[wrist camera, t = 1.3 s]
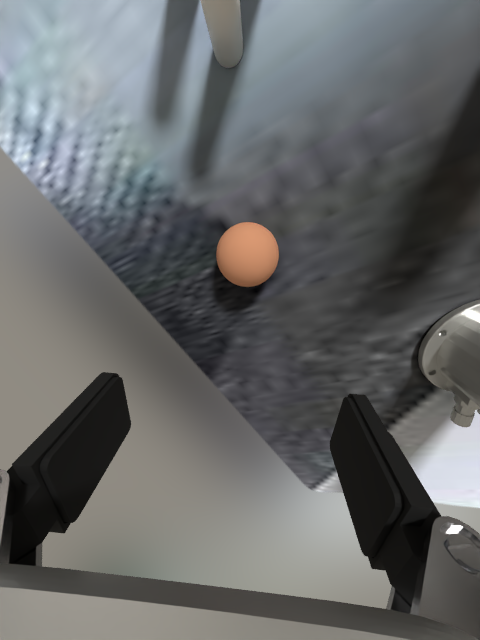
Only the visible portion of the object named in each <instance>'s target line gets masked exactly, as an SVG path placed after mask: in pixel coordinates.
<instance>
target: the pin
mask: <svg viewBox="0 0 480 640" xmlns="http://www.w3.org/2000/svg"><path fill="white" fill-rule="evenodd" d="M200 1H201V4H202V8H203V12H204V16H205V20H206V23H207V27H208V31H209V35H210V39H211V43H212V46H213V50H214V54H215V57H216V60H217V61H218V63H219V64H220V65H221V66H223V67H225V68H232V67H234V66H236V65H237V64H238V63H239V61H240V59H241V57H242V54H243V35H242V22H241V9H240V0H200Z"/></svg>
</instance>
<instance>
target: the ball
mask: <svg viewBox="0 0 480 640" xmlns="http://www.w3.org/2000/svg"><path fill="white" fill-rule="evenodd" d="M216 256H217V263H218V266H219V269H220V271H221V272H222V274H223V275H224V276H225V278H227V279H228V280H229V281H230V282H232V283H234V284H236V285H238V286H243V287H252V286H256V285H259V284H261V283H263V282H265V281H266V280H267V279H268V278H269V277H270V276H271V275H272V274H273V272H274V270H275V269H276V266H277V263H278V258H279V251H278V245H277V242H276V240H275V238H274V236H273V235H272V234H271V232H270V231H269V230H268V229H266V228H265V227H263V226H261V225H259V224H257V223H252V222H244V223H239V224H236V225H234V226H232V227H231V228H229V229H228V230H227V231H226V232H225V233H224V234H223V236H222V237H221V239H220V241H219V243H218V247H217V254H216Z"/></svg>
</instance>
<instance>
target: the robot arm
mask: <svg viewBox="0 0 480 640" xmlns="http://www.w3.org/2000/svg"><path fill="white" fill-rule="evenodd" d="M418 362H419V367H420V369H421V371H422V373H423V374H424V376H425V377H426V378H427V379H428V380H429V381H430V382H431V383H433V384H434V385H435V386H437V387H439V388H441V389H444V390H447V391H451V392H453V393H454V394H455V395H454V400H455V401H456V406H454V408H453V411H452V414H451V417H450V418H451V420H452V421H453V423H455V424H457V425H459V426H462V427H469V426H470V425H471V423H472V420H473V417H474V414H475V413H474V412H475V410H477V409H478V410H477V412H478V413H479V414H480V300H476V301H473V302H470V303H468V304H465V305H463V306H461V307H459V308H457V309H455V310H453V311H451V312H450V313H448V314H447V315H445V316H444V317H442V318H441V319H440V320H439V321H438V322H437V323H436V324H434V325H433V327H432V328H431V329H430V330H429V331H428V333H427V334H426V336H425V338H424V339H423V341H422V343H421V346H420V349H419V354H418ZM130 427H131V420H130V415H129V411H128V405H127V400H126V395H125V390H124V385H123V380H122V378H121V377H119V375H118V374H116V373H105V372H103V373H101V374H100V375H99V376H98V377H97V378H96V379H95V380H94V381H93V382H92V383H91V384H90V385H89V386H88V387H87V388H86V389H85V390H84V391H83V392H82V393H81V394H80V395H79V396H78V397H77V398H76V399H75V400H74V401H73V402H72V403H71V404H70V405H69V406H68V407H67V408H66V409H65V410H64V412H63V413H62V414H61V415H60V416H59V417H58V418H57V419H56V420H55V421H54V422H53V423H52V424H51V425H50V426H49V427H48V428H47V429H46V430H45V431H44V432H43V433H42V434H41V435H40V436H39V437H38V438H37V439H36V440H35V441H34V442H33V443H32V444H31V445H30V446H29V447H28V448H27V450H25V452H23V454H22V455H21V456H20V457H19V458H18V459H17V460H16V461H15V462H14V463H13V464H12V467H11V468H10V469H9V470H8V471H7V472H6V471H5V470H1V469H0V640H480V534H479V533H478V532H476V531H475V530H474V529H472V528H471V527H470V526H469V525H467V524H465V523H463V522H461V521H460V520H458V519H455V518H452V517H448V516H447V517H444V516H443V517H442V516H441V515H440V513H439V512H438V510H437V508H436V507H435V505H434V503H433V502H432V500H431V499H430V497H429V495H428V494H427V492H426V490H425V489H424V487H423V485H422V484H421V482H420V480H419V479H418V477H417V476H416V474H415V472H414V471H413V469H412V467H411V466H410V464H409V462H408V461H407V459H406V457H405V456H404V454H403V453H402V451H401V449H400V448H399V446H398V444H397V443H396V441H395V439H394V438H393V436H392V435H391V434H390V433H389V432H387V430H386V428H385V427H384V425H383V423H382V422H381V420H380V418H379V417H378V415H377V413H376V412H375V410H374V408H373V407H372V405H371V403H370V401H369V400H368V398H367V397H366V396H365V395H357V394H349V395H348V397H345V398H344V399H343V402H342V405H341V409H340V412H339V415H338V418H337V421H336V424H335V428H334V431H333V434H332V437H331V440H330V450H331V454H332V457H333V460H334V464H335V467H336V470H337V473H338V477H339V480H340V483H341V486H342V489H343V493H344V496H345V499H346V502H347V506H348V509H349V512H350V515H351V518H352V522H353V525H354V528H355V531H356V535H357V538H358V541H359V544H360V547H361V550H362V552H363V554H364V555H365V556H368V558H369V561H370V564H371V567H372V569H378V570H386V572H387V575H388V578H389V581H390V584H391V585H392V588H391V592H390V596H389V600H388V604H387V608H386V609H382V608H374V607H368V606H362V605H354V604H348V603H341V602H335V601H327V600H318V599H311V598H303V597H295V596H288V595H279V594H272V593H264V592H256V591H248V590H239V589H232V588H223V587H215V586H207V585H199V584H191V583H182V582H173V581H165V580H157V579H149V578H141V577H131V576H122V575H114V574H105V573H97V572H88V571H79V570H71V569H61V568H51V567H42V542H43V540H44V539H45V537H46V536H47V534H48V532H57V533H65V532H66V530H67V528H68V527H69V525H70V523H73V522H75V521H76V520H77V518H78V517H79V515H80V514H81V512H82V510H83V509H84V507H85V505H86V503H87V502H88V500H89V498H90V496H91V495H92V493H93V491H94V490H95V488H96V486H97V485H98V483H99V481H100V480H101V478H102V476H103V475H104V473H105V471H106V469H107V468H108V466H109V464H110V462H111V461H112V459H113V457H114V456H115V454H116V452H117V451H118V449H119V447H120V446H121V444H122V442H123V441H124V439H125V437H126V435H127V434H128V432H129V430H130Z"/></svg>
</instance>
